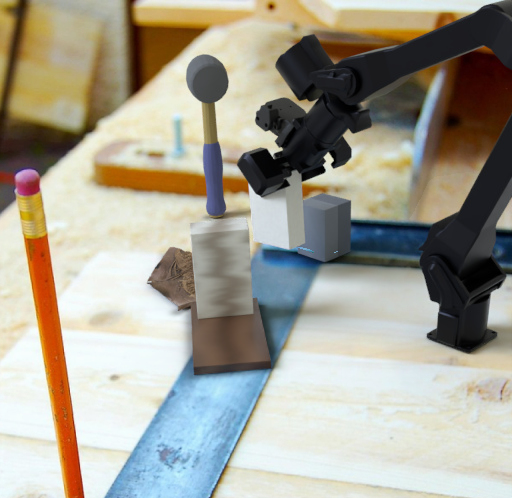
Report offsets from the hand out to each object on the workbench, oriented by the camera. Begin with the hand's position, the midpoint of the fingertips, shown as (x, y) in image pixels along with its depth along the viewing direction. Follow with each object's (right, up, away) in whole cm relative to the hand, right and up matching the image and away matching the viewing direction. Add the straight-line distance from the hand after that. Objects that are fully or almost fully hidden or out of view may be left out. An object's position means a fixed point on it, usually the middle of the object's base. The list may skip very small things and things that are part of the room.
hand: (269, 191), depth 118 cm
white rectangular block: (+2, -7, +3) cm, 8 cm away
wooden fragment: (-14, -12, +9) cm, 21 cm away
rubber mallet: (-5, +2, +34) cm, 34 cm away
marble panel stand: (-7, -23, -11) cm, 26 cm away
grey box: (+11, -8, +12) cm, 18 cm away
